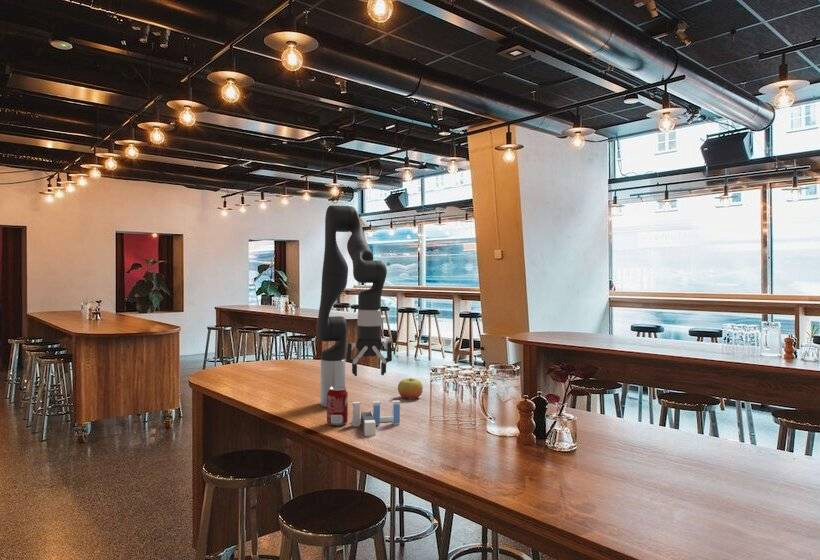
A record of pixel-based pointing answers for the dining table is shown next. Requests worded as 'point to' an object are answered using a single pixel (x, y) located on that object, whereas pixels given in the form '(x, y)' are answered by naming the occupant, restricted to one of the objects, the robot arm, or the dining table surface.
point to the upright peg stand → (377, 413)
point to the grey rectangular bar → (368, 423)
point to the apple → (410, 388)
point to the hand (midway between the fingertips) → (368, 375)
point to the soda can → (337, 406)
